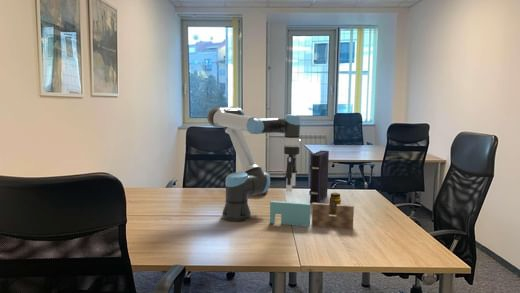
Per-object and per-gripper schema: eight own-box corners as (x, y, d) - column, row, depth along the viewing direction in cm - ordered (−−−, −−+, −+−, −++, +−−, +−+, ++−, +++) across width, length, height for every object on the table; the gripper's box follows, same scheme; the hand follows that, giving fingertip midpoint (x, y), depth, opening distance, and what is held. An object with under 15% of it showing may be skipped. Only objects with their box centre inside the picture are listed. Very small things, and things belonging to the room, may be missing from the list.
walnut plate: (311, 225, 191) (312, 203, 190) (312, 223, 193) (312, 202, 192) (352, 228, 187) (353, 206, 186) (352, 227, 189) (353, 205, 188)
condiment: (343, 215, 209) (344, 194, 208) (332, 218, 204) (333, 196, 203) (334, 212, 215) (334, 191, 214) (322, 214, 210) (323, 193, 209)
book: (318, 194, 258) (320, 150, 254) (327, 195, 255) (329, 150, 252) (309, 202, 236) (310, 154, 233) (319, 203, 234) (320, 155, 230)
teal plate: (269, 223, 194) (270, 201, 192) (270, 221, 196) (271, 200, 195) (309, 226, 189) (310, 204, 188) (309, 224, 192) (310, 203, 190)
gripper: (296, 149, 175) (295, 194, 178) (302, 143, 200) (300, 183, 202) (280, 148, 177) (279, 193, 179) (287, 143, 201) (286, 182, 204)
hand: (290, 188), depth 191 cm, fingers open, 13 cm apart
